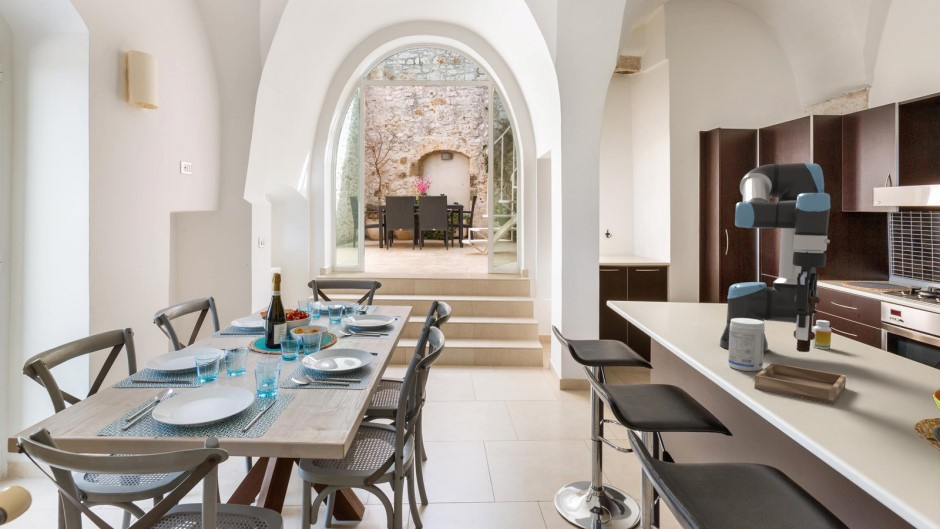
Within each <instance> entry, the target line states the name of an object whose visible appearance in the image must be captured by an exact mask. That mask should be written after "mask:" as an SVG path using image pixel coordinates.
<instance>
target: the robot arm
mask: <svg viewBox="0 0 940 529" xmlns="http://www.w3.org/2000/svg"><path fill="white" fill-rule="evenodd" d="M739 191H740V193H741V196H742V201H739V202H737V203H736V204H735V214H734V218H735V219H734V225H735V227H737V228H745V229H781V233H780V247H779V248H780V250H779V265H778V266H779V267H778V268H779V269H778V277H777V278H776V279H775V280H774V281H773V283H772V286H771V287H770V286H767V283H766V282H762V281H758V282H757V281H750V282H739V283H734V284H732V285H730V286H729V288H728V292H727V293H728V295H727V297H726V298H727V312H726V324H725V325H726V326H725V327H724V330H723V332H722V334H721V337H720V339H719V347H721V348H723V349H726V350H729V333H730V323H731V319H734V318H749V319H756V320H760V321H763V322H764V323H765V321H767V322H782V323H790V324H796V327H795V330H796V338H795V337H794V338H795V340H797V339H799V340H808V329H809V316H808V315H809V304H810V303H809V302H810V296H816V297H818V295H819V294H818V292H819V291H818V290H817V289H818V280H819V273H817V268H824V267H826V263H827V254H826V251H827V248H828V244H830V242H831V240H830V239H828V233H829V220H830V212H831V211H830V210H831V208H832V207H831V195H830V194H829V193H828V192H827V193H826V192H825V180H824V173H823V170H822V167H821V165H820V164H818V163H809V162H808V163H807V162H806V163H805V162H802V163H798V162H797V163H776V164H775V163H769V164H765V165H764V164H763V165H761V166H758V167H755V168H753V169H751V170H749V171H748V172H747V173H746V174H745V175H743V177H742V179H741V180H740V182H739ZM771 199H777V201H771ZM796 295H797V297H796V301H794V297H795V296H796ZM817 305H818V303H814V309H813V311H812V312H813V315H812V326H811V328H812V330H811V331H812V332H813V328H814V327H813V324H814V317H815V316H814V315H815V314H818V310H816V309H817ZM768 348H769V344H768V339H767V337H766V333H765V332H764V349H763V353H766V352H768V350H769V349H768Z"/></svg>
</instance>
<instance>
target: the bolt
mask: <svg viewBox="0 0 940 529" xmlns="http://www.w3.org/2000/svg"><path fill="white" fill-rule="evenodd" d="M796 297H797V295H796V296H795V297H794V301H796ZM809 303H810V304H809V315H808V316H809V329H808V340H799V339H796V351H797V352H800V353H809V352H810V351H811V346H812V344H811V341H813V339H815V333H814V332H813V327H812V328H811V326H812V315H813V312H812V311H813V309H814V303H817V304H820V297H818V296H817V297H816V296H810V302H809ZM811 330H812V331H811ZM793 338H796V329H795V330H794V331H793Z"/></svg>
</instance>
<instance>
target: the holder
mask: <svg viewBox="0 0 940 529" xmlns="http://www.w3.org/2000/svg"><path fill="white" fill-rule="evenodd" d="M846 383H847V375H845V374H839V373H833V372H827V371H823V370H822V371H821V370H817V369H811V368H805V367H804V368H803V367H799V366H793V365H787V364H782V363H776V362H771V363H770V364H769V365H767V366H766V367H765V368H764V369H763V368H762V369H761V370H760V371H759V372H758V373H757V374H755V375H754V387H753V388H754V389H756V388H757V389H756V390H761V389H762V391H767V392H770V391H771V393H775V392H777V394H780V393H782V394H781V395H785V394H786V396H790V395H792V396H791V397H795V396H798V397H797V398H799V397H803V398H802V399H804V398H807V399H806V400H809V399H812V400H811V401H814V400H816V401H815V402H819V401H821V402H820V403H824V402H826V403H825V404H828V403H831V404H830V405H834V404H835V403H836V401H837V400H838V399H839V398H840V396H841V395H842V393H843V392H844V391H845V389H846ZM842 391H843V392H842ZM840 394H841V395H840ZM839 395H840V396H839ZM837 398H838V399H837ZM834 402H835V403H834Z"/></svg>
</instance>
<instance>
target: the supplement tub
mask: <svg viewBox="0 0 940 529" xmlns="http://www.w3.org/2000/svg"><path fill="white" fill-rule="evenodd" d="M764 333H765V321H764V322H763V321H760V320H756V319H749V318H734V319H731V323H730V333H729V349H728V356H727V357H728V359H727V360H728V362H727V364H728V366H729V367H730V368H732V369H734V370H738V371H744V372H757V371H762V370H763V365H764V352H763V349H764Z"/></svg>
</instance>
